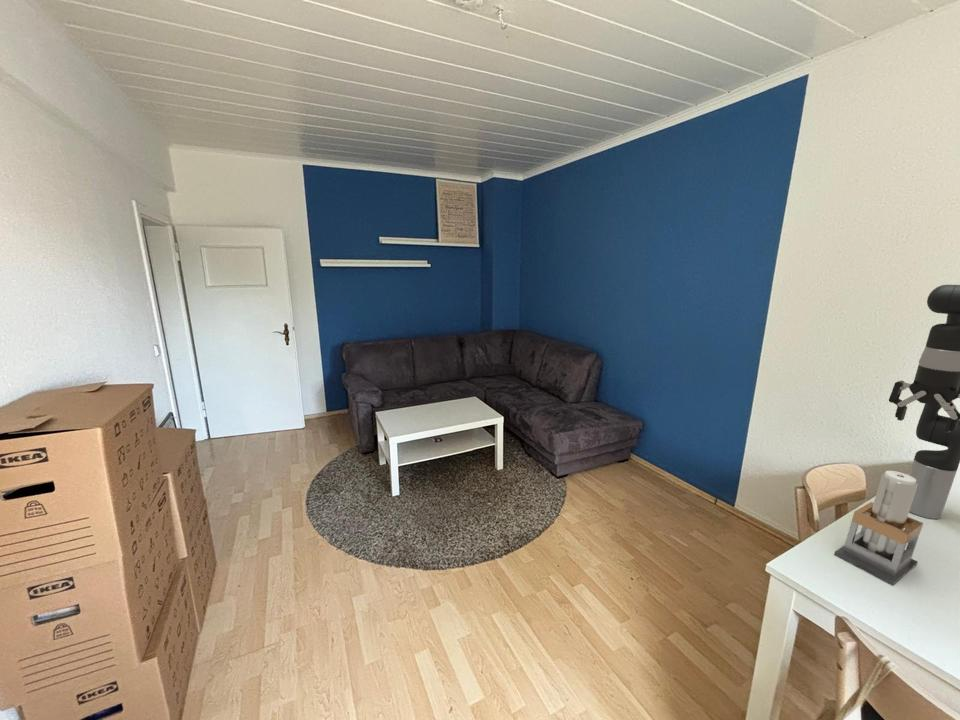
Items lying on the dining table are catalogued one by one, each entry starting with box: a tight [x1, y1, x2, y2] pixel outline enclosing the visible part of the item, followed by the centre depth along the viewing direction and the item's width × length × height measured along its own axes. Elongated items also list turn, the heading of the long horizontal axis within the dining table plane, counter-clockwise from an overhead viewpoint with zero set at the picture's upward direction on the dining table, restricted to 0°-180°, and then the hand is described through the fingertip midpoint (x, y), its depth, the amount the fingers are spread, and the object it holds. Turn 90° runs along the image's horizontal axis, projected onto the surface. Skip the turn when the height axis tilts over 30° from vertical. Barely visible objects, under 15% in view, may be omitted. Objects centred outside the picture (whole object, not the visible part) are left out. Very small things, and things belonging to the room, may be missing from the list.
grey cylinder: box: [861, 470, 918, 561], centre depth 104 cm, size 6×6×25 cm
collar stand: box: [833, 501, 924, 586], centre depth 105 cm, size 16×12×14 cm
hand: (923, 425), depth 101 cm, fingers open, 8 cm apart
